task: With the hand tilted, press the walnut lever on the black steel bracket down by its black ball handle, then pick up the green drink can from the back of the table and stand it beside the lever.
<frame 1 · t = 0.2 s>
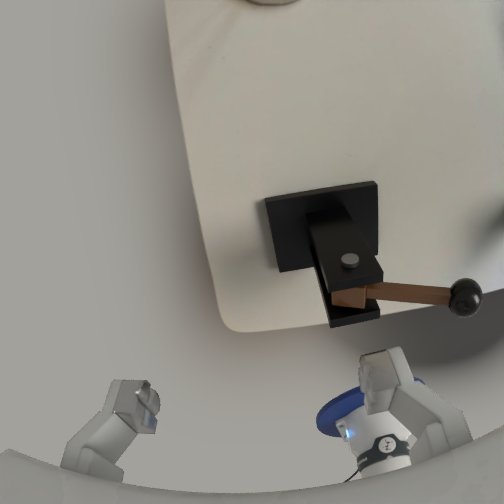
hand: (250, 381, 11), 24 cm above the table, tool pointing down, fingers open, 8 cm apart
bracket: (325, 225, 34), on the table
lever: (410, 293, 22), point 13 cm above the table, hinge at 25.0°
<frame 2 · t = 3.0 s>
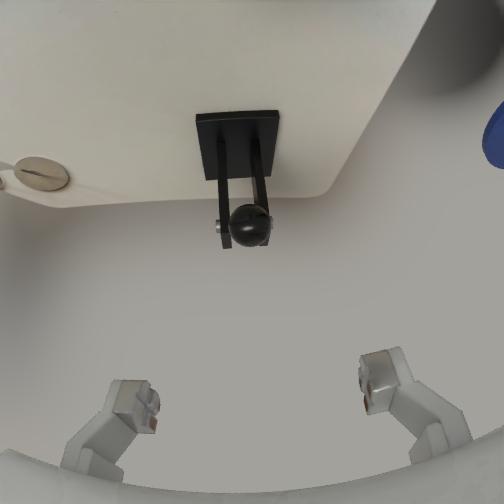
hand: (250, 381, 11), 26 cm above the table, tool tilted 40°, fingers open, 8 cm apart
bracket: (237, 144, 37), on the table
lever: (246, 224, 28), point 13 cm above the table, hinge at 25.0°
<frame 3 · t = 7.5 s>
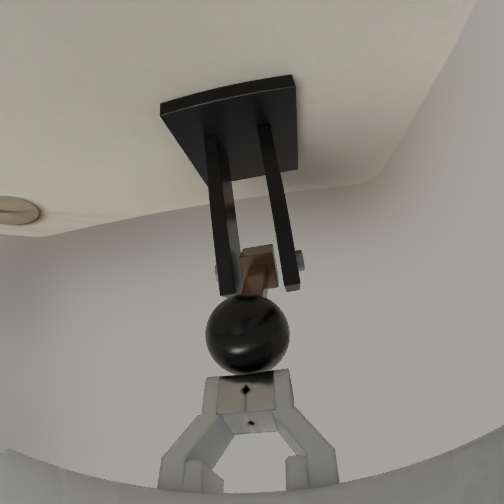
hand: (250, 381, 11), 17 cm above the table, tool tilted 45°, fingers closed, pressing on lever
bracket: (239, 133, 24), on the table
lever: (255, 292, 16), point 13 cm above the table, hinge at 24.7°, touching gripper
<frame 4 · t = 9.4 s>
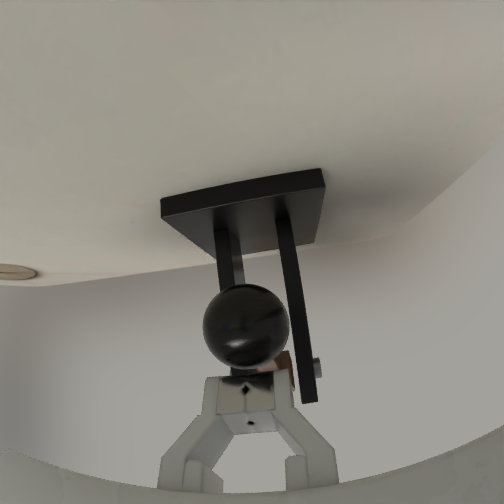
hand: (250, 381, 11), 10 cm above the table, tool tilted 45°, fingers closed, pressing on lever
bracket: (253, 217, 22), on the table
lever: (265, 357, 15), point 9 cm above the table, hinge at -20.9°, touching gripper
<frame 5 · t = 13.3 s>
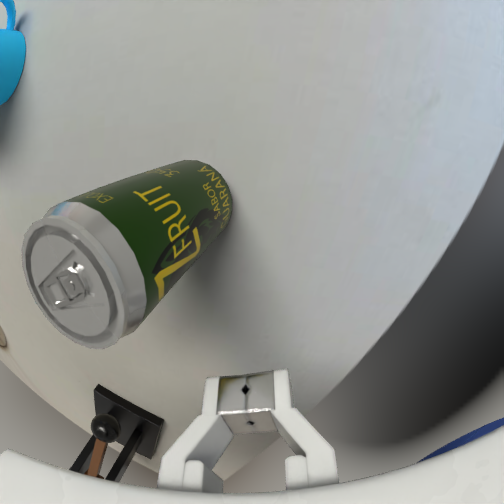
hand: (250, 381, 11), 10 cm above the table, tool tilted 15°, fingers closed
mug: (10, 49, 17), on the table
bracket: (128, 423, 33), on the table
green drink can: (196, 198, 20), on the table
lever: (97, 458, 24), point 8 cm above the table, hinge at -30.5°
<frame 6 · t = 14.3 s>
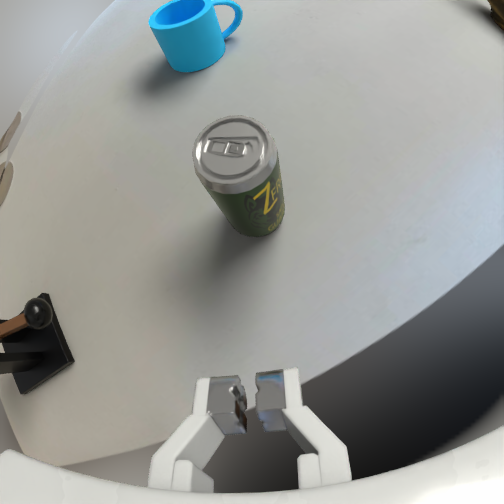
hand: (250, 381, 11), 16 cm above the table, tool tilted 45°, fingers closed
mug: (209, 48, 36), on the table
bracket: (34, 346, 30), on the table
green drink can: (257, 212, 30), on the table
lever: (1, 331, 22), point 8 cm above the table, hinge at -30.5°
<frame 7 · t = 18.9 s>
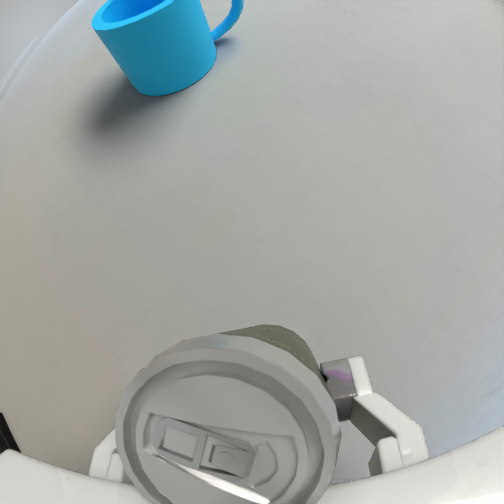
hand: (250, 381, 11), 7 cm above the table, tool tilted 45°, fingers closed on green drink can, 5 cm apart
mug: (192, 55, 23), on the table
bracket: (1, 461, 18), on the table
green drink can: (268, 368, 17), on the table, touching gripper
when the fingers open (7 cm above the table, at t = 26.1 s): green drink can stays where it is, on the table.
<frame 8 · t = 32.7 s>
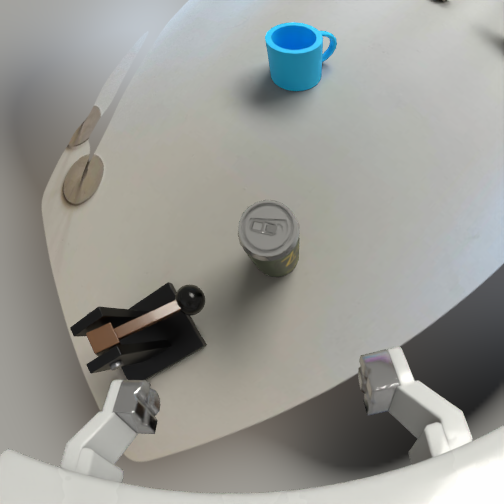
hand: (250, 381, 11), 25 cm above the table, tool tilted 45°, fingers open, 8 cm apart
mug: (305, 70, 43), on the table
bracket: (152, 336, 37), on the table
green drink can: (276, 256, 37), on the table
lever: (148, 319, 29), point 8 cm above the table, hinge at -30.5°
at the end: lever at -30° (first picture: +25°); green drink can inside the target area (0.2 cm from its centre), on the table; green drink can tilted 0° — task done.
